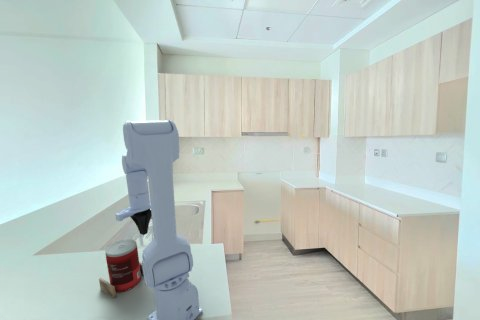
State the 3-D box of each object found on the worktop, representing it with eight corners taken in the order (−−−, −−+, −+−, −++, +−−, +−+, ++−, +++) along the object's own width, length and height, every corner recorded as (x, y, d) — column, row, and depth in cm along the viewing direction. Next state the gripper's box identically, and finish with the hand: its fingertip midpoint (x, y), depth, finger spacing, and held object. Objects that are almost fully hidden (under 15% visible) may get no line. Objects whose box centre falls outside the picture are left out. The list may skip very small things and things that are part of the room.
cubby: (148, 275, 65) (147, 266, 65) (114, 298, 57) (112, 288, 56) (134, 268, 69) (133, 259, 68) (100, 288, 61) (98, 278, 60)
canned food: (133, 270, 68) (128, 236, 66) (146, 280, 63) (142, 244, 61) (106, 284, 62) (100, 248, 60) (118, 297, 57) (112, 258, 55)
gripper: (151, 185, 77) (155, 222, 79) (107, 197, 65) (114, 240, 67) (164, 187, 73) (168, 226, 75) (121, 201, 61) (127, 246, 63)
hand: (143, 233), depth 71 cm, fingers closed
